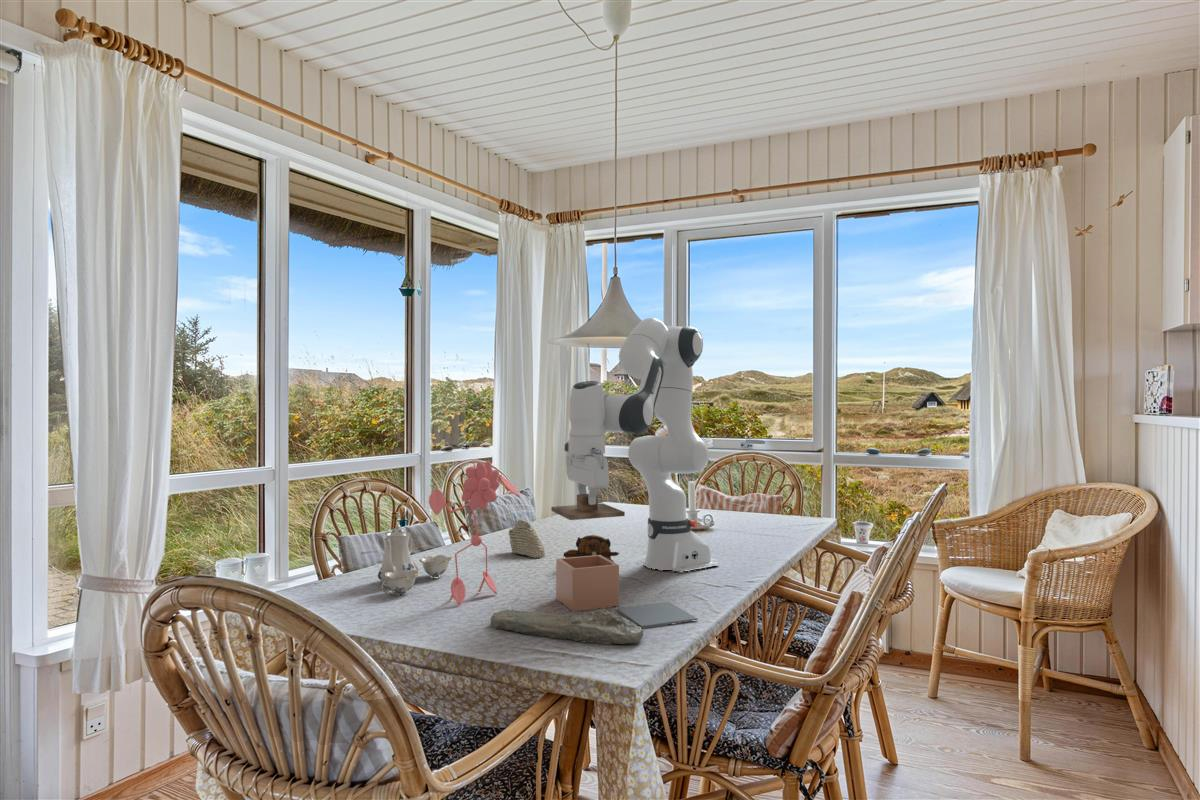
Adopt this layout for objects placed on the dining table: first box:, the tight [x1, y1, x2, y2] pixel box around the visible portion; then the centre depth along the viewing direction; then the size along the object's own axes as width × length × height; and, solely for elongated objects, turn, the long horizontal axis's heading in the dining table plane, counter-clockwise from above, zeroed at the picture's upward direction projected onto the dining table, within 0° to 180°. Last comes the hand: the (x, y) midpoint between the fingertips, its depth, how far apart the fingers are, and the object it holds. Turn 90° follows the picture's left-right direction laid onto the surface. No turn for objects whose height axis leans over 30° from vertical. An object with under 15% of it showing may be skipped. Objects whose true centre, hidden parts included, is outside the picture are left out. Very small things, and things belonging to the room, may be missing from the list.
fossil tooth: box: [508, 518, 546, 559], centre depth 228 cm, size 12×6×15 cm
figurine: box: [428, 459, 521, 606], centre depth 175 cm, size 15×26×35 cm, turn 139°
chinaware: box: [377, 523, 453, 596], centre depth 192 cm, size 28×17×17 cm, turn 169°
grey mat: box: [615, 601, 698, 629], centre depth 165 cm, size 14×14×1 cm
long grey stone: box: [489, 608, 644, 645], centre depth 153 cm, size 35×5×10 cm
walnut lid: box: [550, 493, 626, 521], centre depth 175 cm, size 14×14×4 cm
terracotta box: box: [555, 555, 620, 612], centre depth 176 cm, size 12×12×10 cm
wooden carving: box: [562, 534, 620, 563], centre depth 208 cm, size 16×5×10 cm, turn 92°
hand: (587, 502), depth 175 cm, fingers closed on walnut lid, 4 cm apart
